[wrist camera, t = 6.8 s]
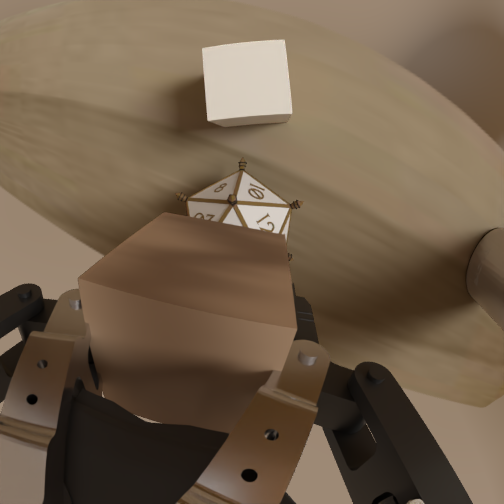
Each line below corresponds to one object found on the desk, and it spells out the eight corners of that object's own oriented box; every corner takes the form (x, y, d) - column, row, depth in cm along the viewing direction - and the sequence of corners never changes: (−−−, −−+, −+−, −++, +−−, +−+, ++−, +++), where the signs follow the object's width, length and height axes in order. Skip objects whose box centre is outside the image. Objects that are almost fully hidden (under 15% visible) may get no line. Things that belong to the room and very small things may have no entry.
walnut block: (285, 234, 11) (297, 328, 5) (260, 332, 13) (252, 441, 7) (164, 212, 11) (77, 278, 5) (159, 311, 13) (106, 404, 7)
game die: (234, 220, 27) (155, 279, 21) (234, 138, 21) (130, 185, 15) (315, 260, 23) (243, 344, 17) (336, 170, 18) (245, 246, 12)
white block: (281, 65, 18) (284, 39, 13) (287, 122, 20) (292, 113, 15) (219, 71, 19) (202, 48, 13) (224, 127, 21) (207, 121, 15)
